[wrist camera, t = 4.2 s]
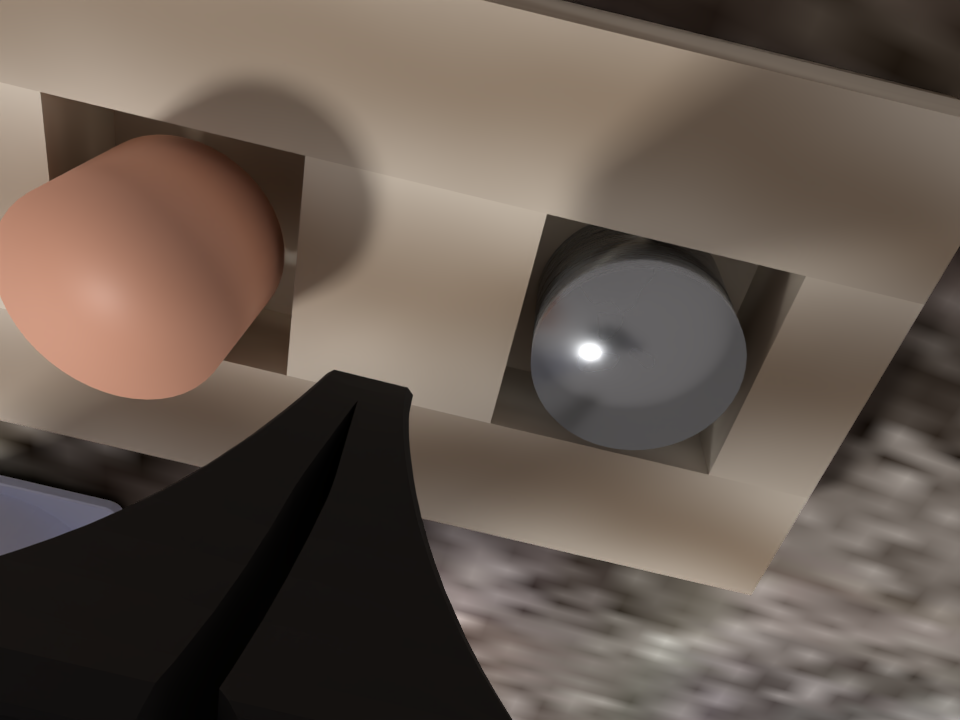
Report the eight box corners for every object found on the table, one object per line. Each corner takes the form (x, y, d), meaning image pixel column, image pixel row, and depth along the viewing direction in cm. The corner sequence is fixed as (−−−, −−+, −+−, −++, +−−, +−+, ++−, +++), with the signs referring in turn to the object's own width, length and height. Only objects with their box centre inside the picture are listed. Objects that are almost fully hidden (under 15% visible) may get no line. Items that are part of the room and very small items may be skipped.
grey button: (683, 395, 19) (700, 469, 17) (518, 355, 19) (509, 424, 17) (751, 239, 17) (782, 298, 14) (563, 194, 17) (561, 245, 14)
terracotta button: (277, 345, 17) (227, 421, 15) (91, 301, 17) (8, 370, 15) (292, 163, 15) (234, 215, 13) (76, 111, 15) (-25, 154, 12)
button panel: (730, 514, 22) (751, 594, 19) (52, 355, 21) (-19, 416, 19) (951, 95, 15) (1027, 133, 13) (-5, -139, 15) (-122, -149, 13)
